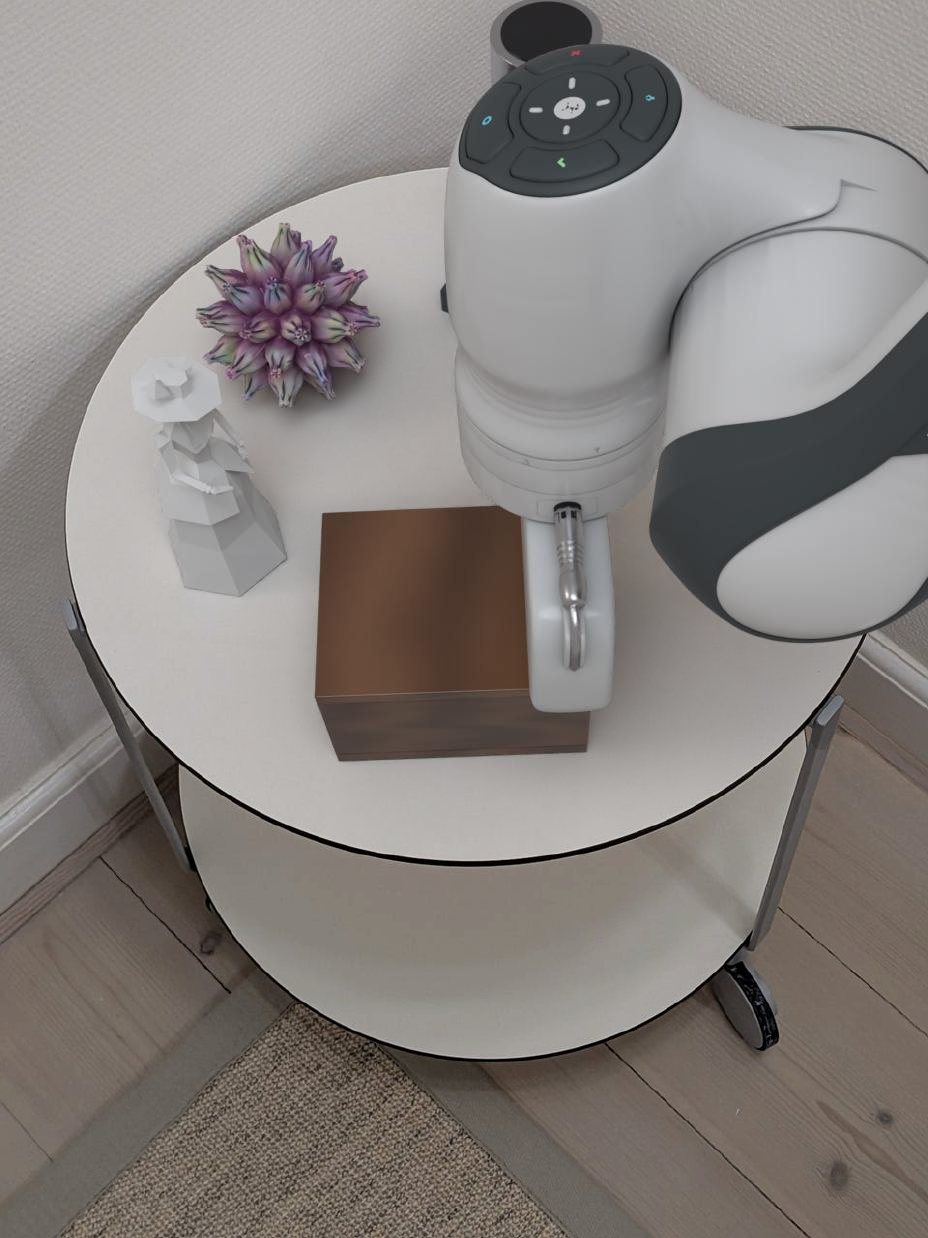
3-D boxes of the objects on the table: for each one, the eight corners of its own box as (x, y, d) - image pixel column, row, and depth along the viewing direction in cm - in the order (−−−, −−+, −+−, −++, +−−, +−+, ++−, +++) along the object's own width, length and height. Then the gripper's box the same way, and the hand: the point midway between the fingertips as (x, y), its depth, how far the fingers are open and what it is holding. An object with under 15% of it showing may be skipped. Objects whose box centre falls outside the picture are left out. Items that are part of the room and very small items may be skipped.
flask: (607, 276, 88) (626, 23, 70) (550, 331, 86) (555, 84, 68) (537, 235, 90) (537, -21, 72) (480, 288, 88) (466, 38, 70)
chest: (574, 581, 77) (578, 508, 70) (586, 752, 72) (592, 693, 64) (343, 591, 77) (323, 520, 70) (338, 762, 72) (316, 704, 65)
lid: (593, 508, 70) (597, 456, 65) (608, 693, 64) (614, 650, 60) (323, 519, 70) (310, 468, 66) (316, 704, 65) (301, 662, 60)
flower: (391, 336, 89) (376, 449, 81) (224, 331, 89) (194, 444, 81) (383, 190, 80) (366, 301, 72) (198, 185, 80) (162, 296, 73)
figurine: (274, 601, 77) (208, 426, 61) (151, 584, 78) (55, 407, 62) (301, 507, 80) (245, 318, 65) (183, 492, 82) (99, 302, 66)
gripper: (658, 629, 48) (634, 761, 60) (617, 238, 57) (603, 420, 70) (495, 636, 48) (503, 766, 60) (481, 245, 58) (491, 425, 70)
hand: (557, 578), depth 65 cm, fingers open, 8 cm apart
